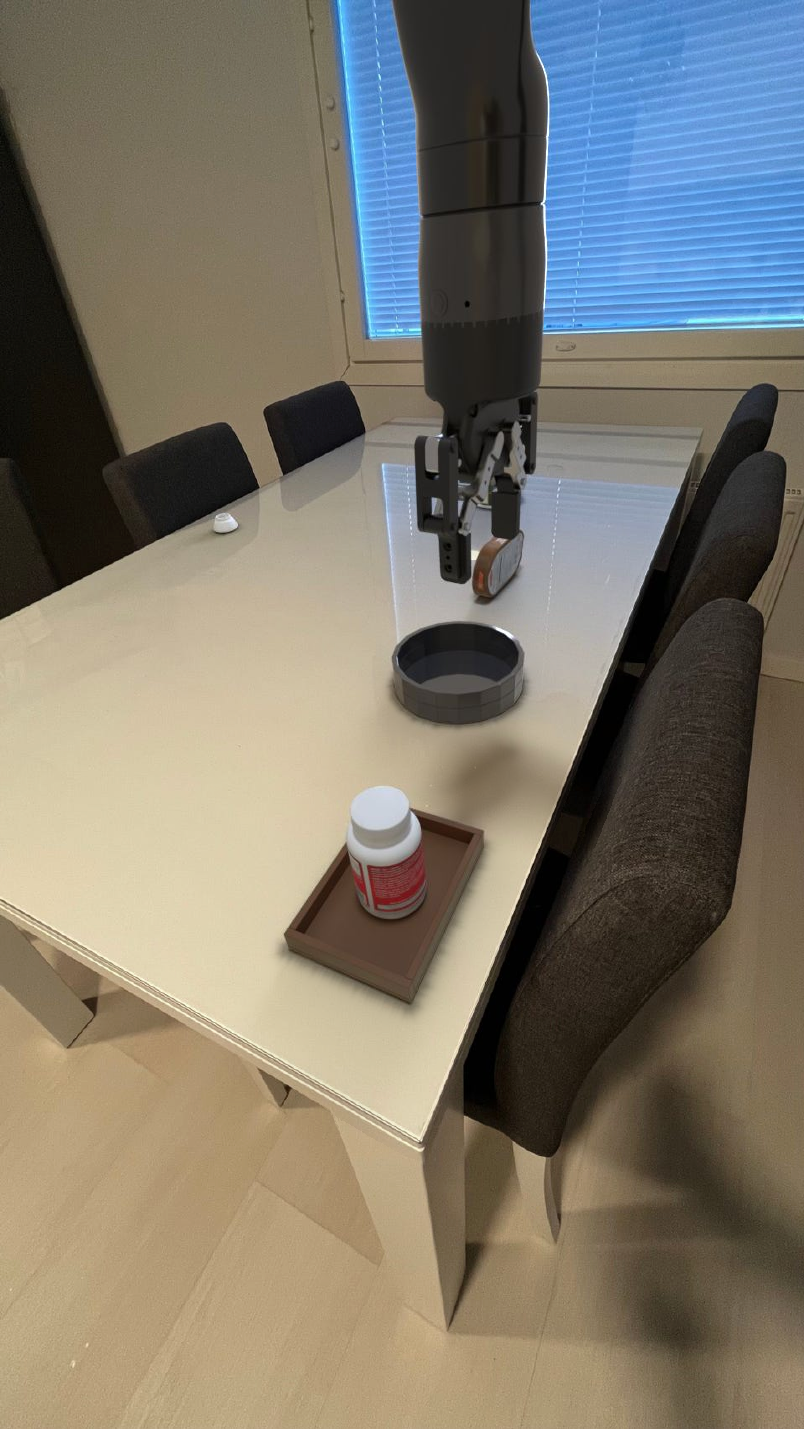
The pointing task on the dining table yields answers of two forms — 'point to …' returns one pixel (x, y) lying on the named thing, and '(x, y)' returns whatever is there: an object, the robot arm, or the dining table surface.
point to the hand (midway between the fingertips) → (482, 557)
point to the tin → (496, 564)
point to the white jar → (224, 523)
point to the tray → (387, 946)
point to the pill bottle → (386, 853)
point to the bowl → (458, 671)
